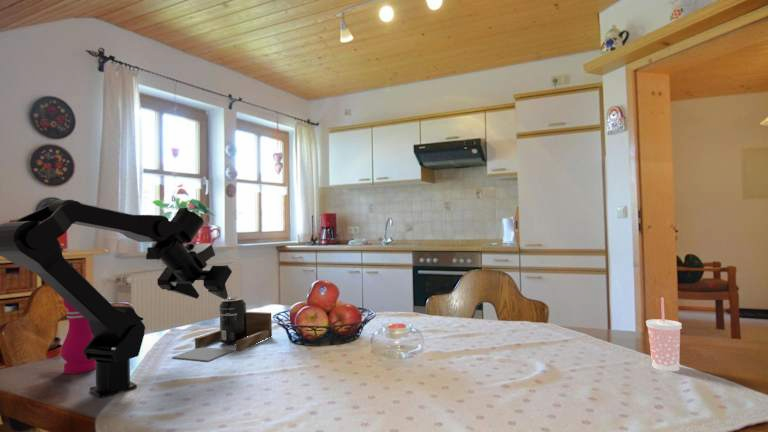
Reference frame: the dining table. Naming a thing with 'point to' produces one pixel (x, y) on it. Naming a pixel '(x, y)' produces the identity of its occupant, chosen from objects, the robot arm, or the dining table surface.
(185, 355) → the mat
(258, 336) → the shelf lane
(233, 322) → the beverage can
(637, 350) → the dining table surface
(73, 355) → the pepper mill
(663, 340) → the beverage cup
